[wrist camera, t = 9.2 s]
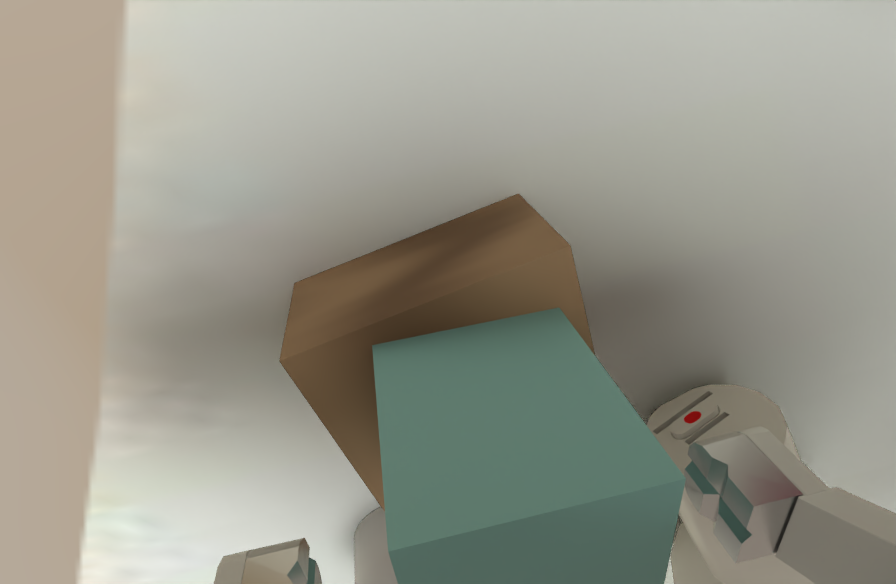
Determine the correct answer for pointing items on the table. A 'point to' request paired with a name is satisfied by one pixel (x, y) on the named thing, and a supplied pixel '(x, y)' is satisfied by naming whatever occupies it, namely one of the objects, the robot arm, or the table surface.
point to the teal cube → (518, 461)
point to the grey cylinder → (372, 551)
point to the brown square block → (419, 310)
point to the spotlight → (696, 547)
